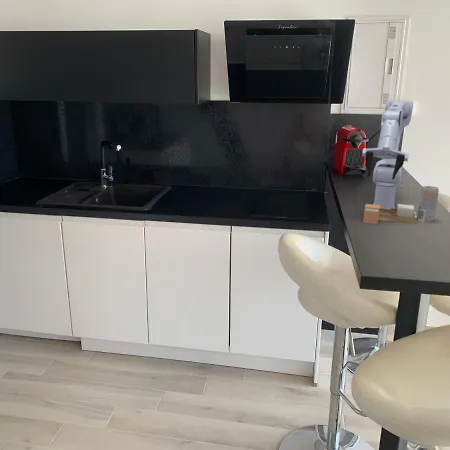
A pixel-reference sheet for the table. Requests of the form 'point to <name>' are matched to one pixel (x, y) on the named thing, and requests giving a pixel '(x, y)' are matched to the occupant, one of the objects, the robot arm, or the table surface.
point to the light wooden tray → (395, 216)
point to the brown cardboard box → (371, 213)
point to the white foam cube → (405, 210)
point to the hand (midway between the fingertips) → (381, 176)
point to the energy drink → (428, 204)
